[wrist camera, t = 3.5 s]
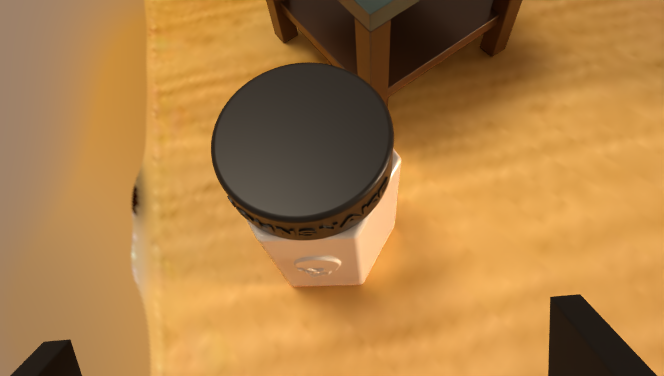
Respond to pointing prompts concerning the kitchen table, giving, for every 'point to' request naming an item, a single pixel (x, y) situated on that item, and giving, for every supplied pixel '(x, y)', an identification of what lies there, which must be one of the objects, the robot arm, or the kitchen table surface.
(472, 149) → the kitchen table surface
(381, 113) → the jar
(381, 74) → the stand
